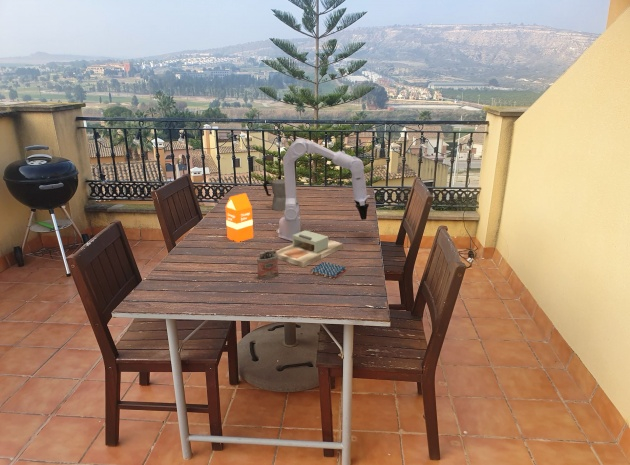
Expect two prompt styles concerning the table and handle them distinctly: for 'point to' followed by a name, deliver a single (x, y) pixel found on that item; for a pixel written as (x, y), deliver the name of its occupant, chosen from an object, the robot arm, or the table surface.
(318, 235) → the slide cover
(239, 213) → the orange juice
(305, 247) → the walnut block
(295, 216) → the robot arm
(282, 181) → the coffeepot
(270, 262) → the lighter
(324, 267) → the woven mat
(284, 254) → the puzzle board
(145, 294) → the table surface
